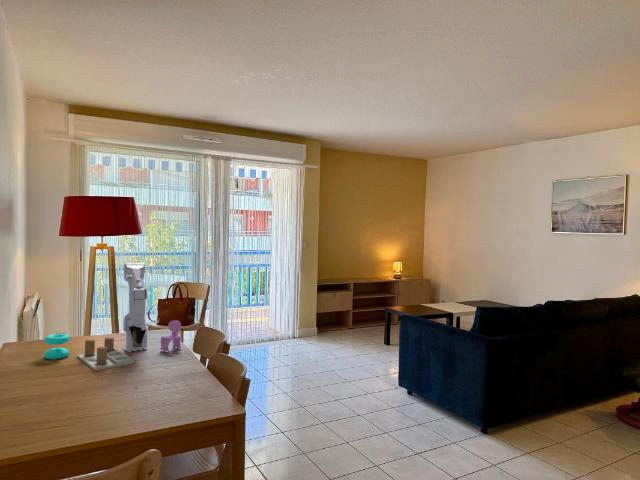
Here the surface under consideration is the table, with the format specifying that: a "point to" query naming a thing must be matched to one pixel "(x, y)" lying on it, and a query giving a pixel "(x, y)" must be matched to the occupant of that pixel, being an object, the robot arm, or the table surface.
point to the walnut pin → (135, 342)
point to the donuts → (56, 352)
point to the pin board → (104, 355)
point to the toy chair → (171, 336)
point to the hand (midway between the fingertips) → (137, 342)
